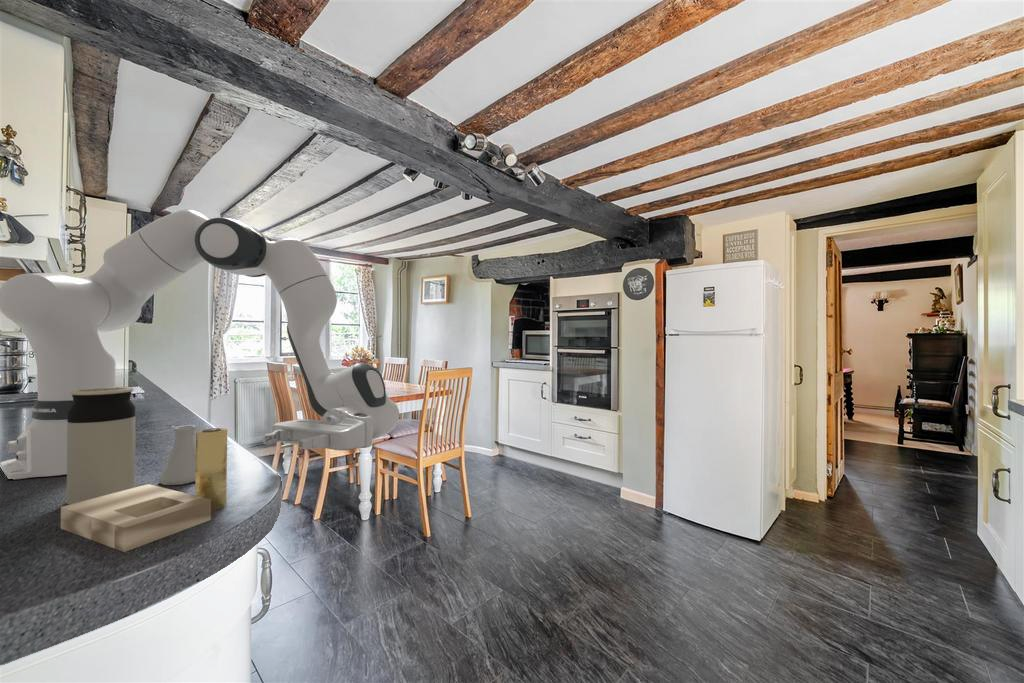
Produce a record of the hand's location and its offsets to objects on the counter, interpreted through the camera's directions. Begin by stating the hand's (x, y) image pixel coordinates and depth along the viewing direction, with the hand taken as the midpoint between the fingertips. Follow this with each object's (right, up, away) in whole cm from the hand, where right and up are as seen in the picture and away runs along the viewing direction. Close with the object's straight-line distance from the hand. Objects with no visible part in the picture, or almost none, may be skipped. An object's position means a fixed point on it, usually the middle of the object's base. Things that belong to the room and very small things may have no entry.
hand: (283, 442), depth 76 cm
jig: (-11, -7, -18) cm, 22 cm away
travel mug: (-26, -7, -8) cm, 28 cm away
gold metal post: (-5, -7, -11) cm, 14 cm away
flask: (-19, -8, +1) cm, 21 cm away
